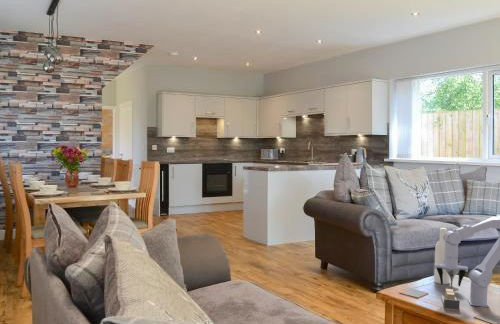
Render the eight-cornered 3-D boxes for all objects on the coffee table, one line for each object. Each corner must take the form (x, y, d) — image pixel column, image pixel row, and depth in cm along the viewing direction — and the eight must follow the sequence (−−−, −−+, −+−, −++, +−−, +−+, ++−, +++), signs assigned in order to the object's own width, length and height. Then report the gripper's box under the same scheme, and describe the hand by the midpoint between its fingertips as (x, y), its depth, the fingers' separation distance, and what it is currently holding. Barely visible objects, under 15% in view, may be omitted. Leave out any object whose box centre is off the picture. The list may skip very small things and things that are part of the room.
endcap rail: (441, 298, 230) (441, 289, 230) (455, 300, 228) (456, 290, 228) (444, 309, 215) (444, 299, 215) (459, 310, 213) (459, 300, 213)
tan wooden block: (445, 298, 228) (445, 288, 228) (452, 299, 227) (452, 289, 227) (447, 304, 220) (447, 294, 219) (454, 305, 219) (454, 294, 218)
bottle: (450, 284, 254) (452, 229, 253) (435, 283, 256) (437, 229, 255) (447, 280, 262) (449, 227, 261) (432, 279, 264) (434, 226, 263)
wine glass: (462, 291, 243) (463, 262, 243) (446, 290, 243) (447, 262, 243) (455, 286, 251) (456, 258, 251) (440, 286, 251) (441, 258, 251)
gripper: (435, 257, 221) (434, 285, 222) (469, 259, 217) (468, 288, 217) (434, 253, 228) (433, 281, 228) (467, 256, 223) (466, 284, 224)
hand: (450, 284), depth 223 cm, fingers open, 7 cm apart
